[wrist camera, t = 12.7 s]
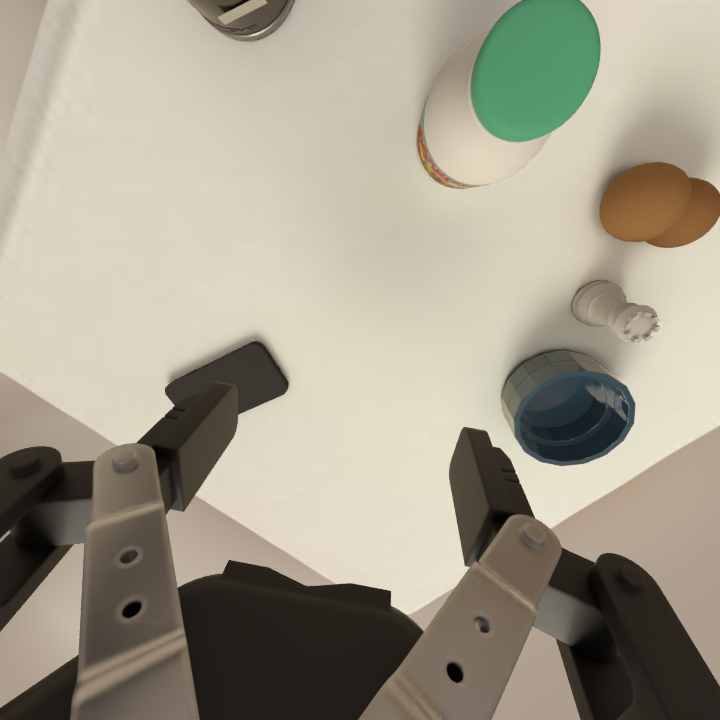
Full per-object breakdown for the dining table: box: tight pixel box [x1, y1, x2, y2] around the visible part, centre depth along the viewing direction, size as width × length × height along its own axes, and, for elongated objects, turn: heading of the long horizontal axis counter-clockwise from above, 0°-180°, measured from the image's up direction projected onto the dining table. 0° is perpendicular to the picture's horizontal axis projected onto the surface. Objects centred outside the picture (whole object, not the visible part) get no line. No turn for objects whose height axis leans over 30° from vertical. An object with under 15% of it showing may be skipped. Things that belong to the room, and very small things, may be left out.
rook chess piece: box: [572, 281, 660, 342], centre depth 33 cm, size 4×4×8 cm
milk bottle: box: [417, 0, 600, 189], centre depth 23 cm, size 8×8×20 cm
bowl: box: [502, 350, 635, 466], centre depth 38 cm, size 11×11×6 cm
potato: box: [599, 162, 720, 248], centre depth 30 cm, size 6×9×6 cm
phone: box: [165, 342, 288, 414], centre depth 44 cm, size 7×1×15 cm
